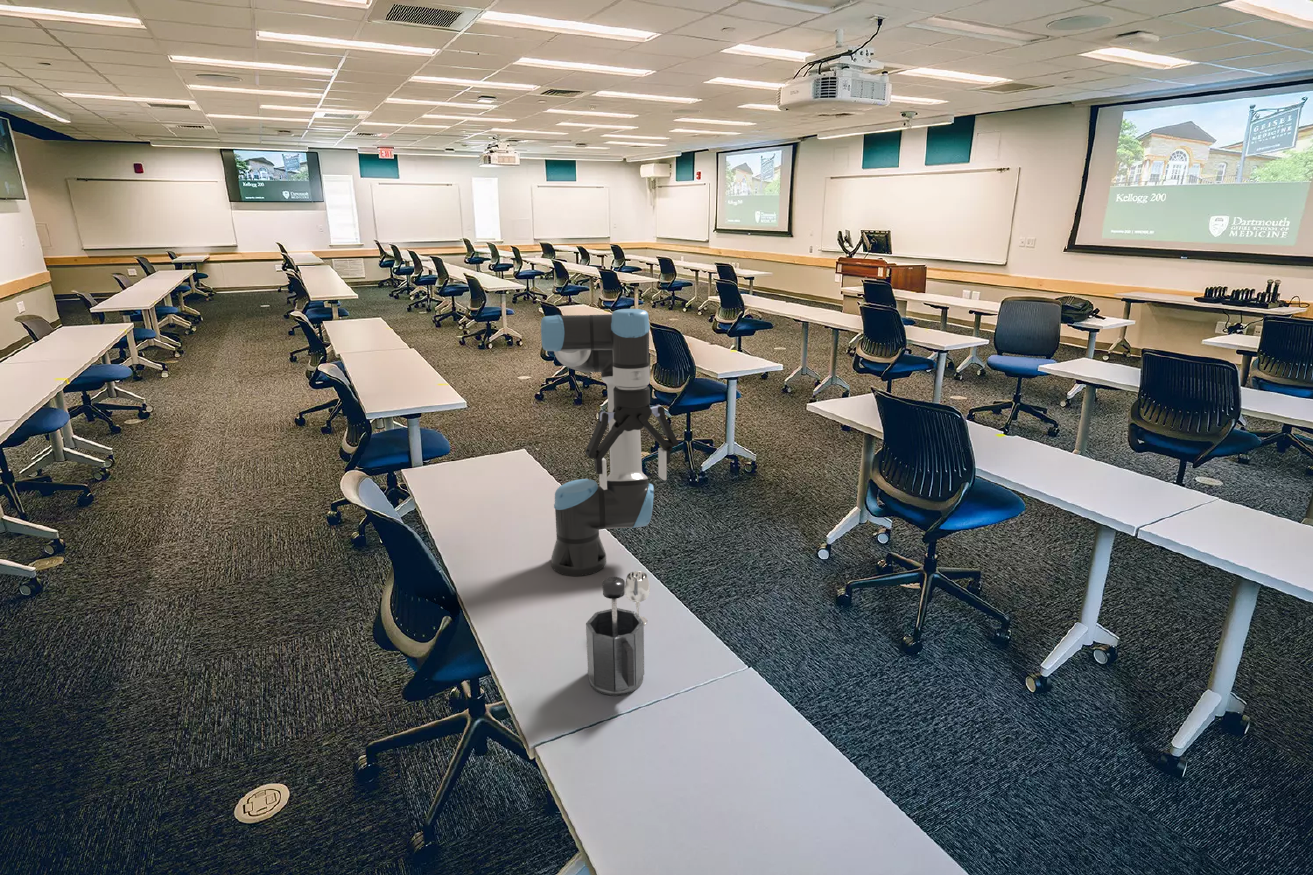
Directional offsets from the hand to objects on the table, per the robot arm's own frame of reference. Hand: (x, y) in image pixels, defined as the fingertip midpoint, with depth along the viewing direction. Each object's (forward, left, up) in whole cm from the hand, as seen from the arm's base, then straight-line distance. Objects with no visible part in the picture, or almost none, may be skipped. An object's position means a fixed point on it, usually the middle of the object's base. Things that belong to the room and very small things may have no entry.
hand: (633, 482), depth 147 cm
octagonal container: (+16, -10, -37) cm, 41 cm away
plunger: (+14, -10, -35) cm, 39 cm away
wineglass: (-4, +2, -37) cm, 37 cm away
